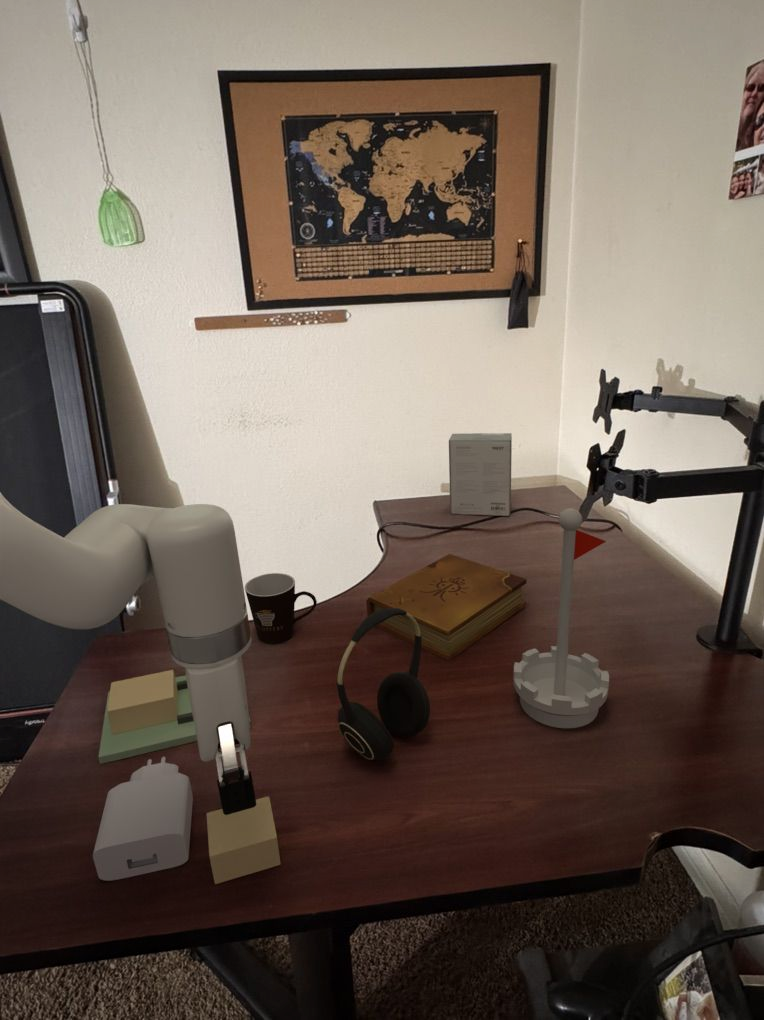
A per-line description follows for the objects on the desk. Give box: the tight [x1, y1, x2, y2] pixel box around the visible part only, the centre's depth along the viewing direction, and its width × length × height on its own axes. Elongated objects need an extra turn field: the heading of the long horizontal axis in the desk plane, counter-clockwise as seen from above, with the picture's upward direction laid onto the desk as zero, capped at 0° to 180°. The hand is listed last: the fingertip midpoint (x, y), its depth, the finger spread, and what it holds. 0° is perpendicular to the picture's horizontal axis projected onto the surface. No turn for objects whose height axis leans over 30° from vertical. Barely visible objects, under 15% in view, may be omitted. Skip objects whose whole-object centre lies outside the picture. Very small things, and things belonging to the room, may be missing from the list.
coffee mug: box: [244, 572, 318, 645], centre depth 109 cm, size 12×9×10 cm
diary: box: [365, 553, 527, 662], centre depth 115 cm, size 23×19×6 cm
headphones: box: [336, 608, 431, 761], centre depth 81 cm, size 9×15×20 cm, turn 135°
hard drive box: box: [448, 432, 513, 517], centre depth 161 cm, size 16×8×20 cm, turn 77°
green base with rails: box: [98, 669, 252, 765], centre depth 92 cm, size 20×15×5 cm
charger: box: [92, 756, 194, 882], centre depth 74 cm, size 5×9×15 cm
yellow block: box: [206, 795, 282, 885], centre depth 69 cm, size 7×6×4 cm
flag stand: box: [512, 507, 610, 729], centre depth 86 cm, size 13×13×30 cm
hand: (235, 774), depth 66 cm, fingers open, 9 cm apart
